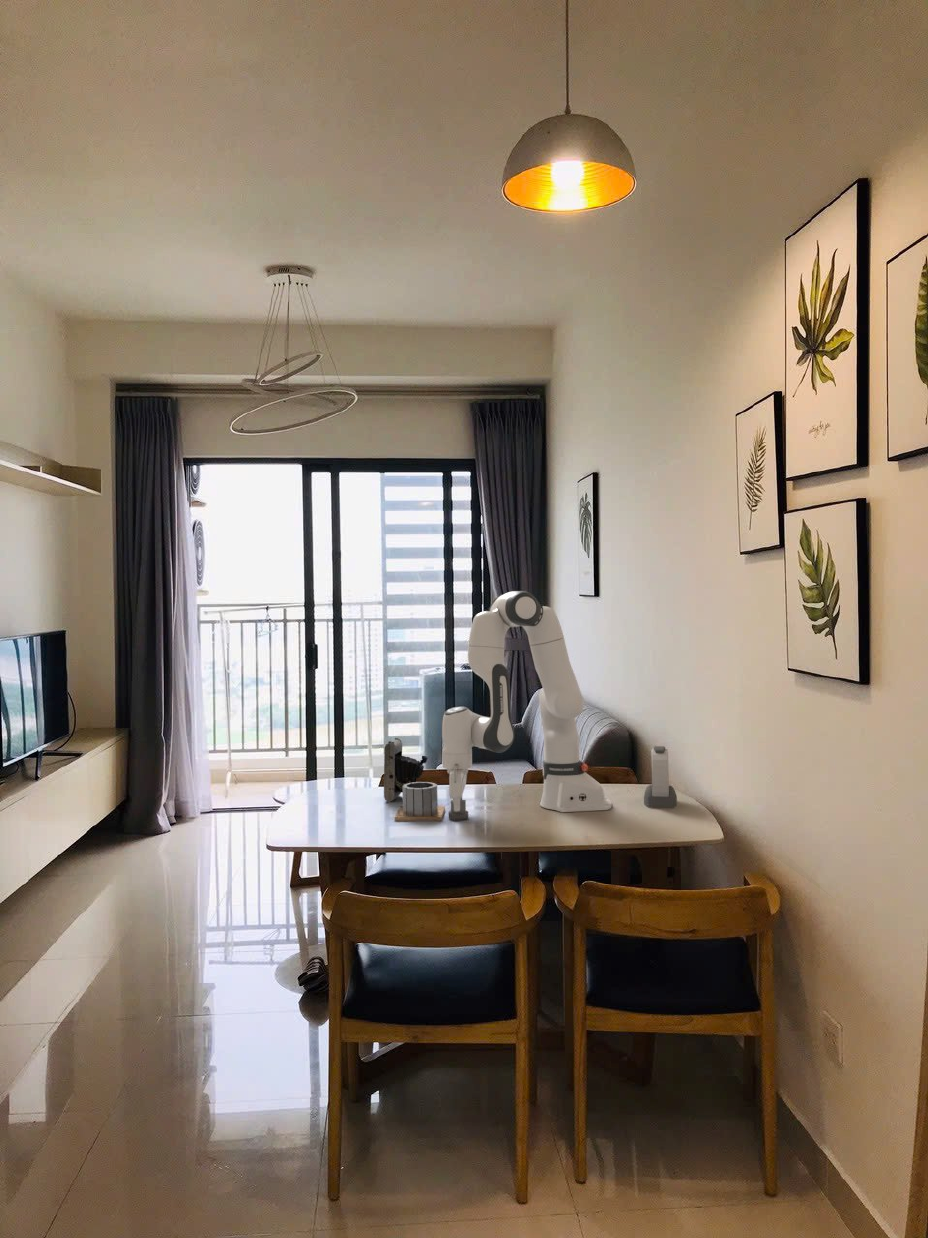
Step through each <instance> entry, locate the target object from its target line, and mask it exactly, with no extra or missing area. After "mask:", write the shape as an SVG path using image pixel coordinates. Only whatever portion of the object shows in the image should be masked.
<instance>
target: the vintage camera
mask: <svg viewBox="0 0 928 1238" xmlns="http://www.w3.org/2000/svg"><path fill="white" fill-rule="evenodd" d="M383 758H384V759H383V761H384V763H383V765H384V766H383V798H384V800H385V801H386V802H387V803H390V802H393V801H394V800H395V799H397V798H398V797H399V796H400V795H401V794H402V793H403V787H402V786H403V785H404V784H407V783H413V782H417V779H420V778H421V776H422V774H423V773H424V768H425V766H424V764H426V763H427V761H428V759H429V757H427V755H422V756H421V759H420V760H417V758H412V757H410V756H405V755H403V742H402V740H401V739H400V738H398V737H395V738H394V739H393V740H389V741H388V742H387V743H386V744H385V746H384V757H383Z"/></svg>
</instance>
